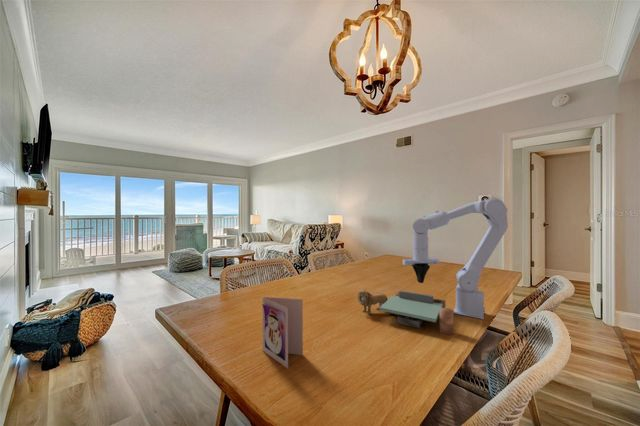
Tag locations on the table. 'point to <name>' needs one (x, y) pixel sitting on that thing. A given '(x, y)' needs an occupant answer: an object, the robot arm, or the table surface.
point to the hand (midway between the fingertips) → (420, 282)
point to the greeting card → (282, 328)
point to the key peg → (446, 321)
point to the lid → (413, 306)
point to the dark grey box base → (417, 322)
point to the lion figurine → (370, 300)
